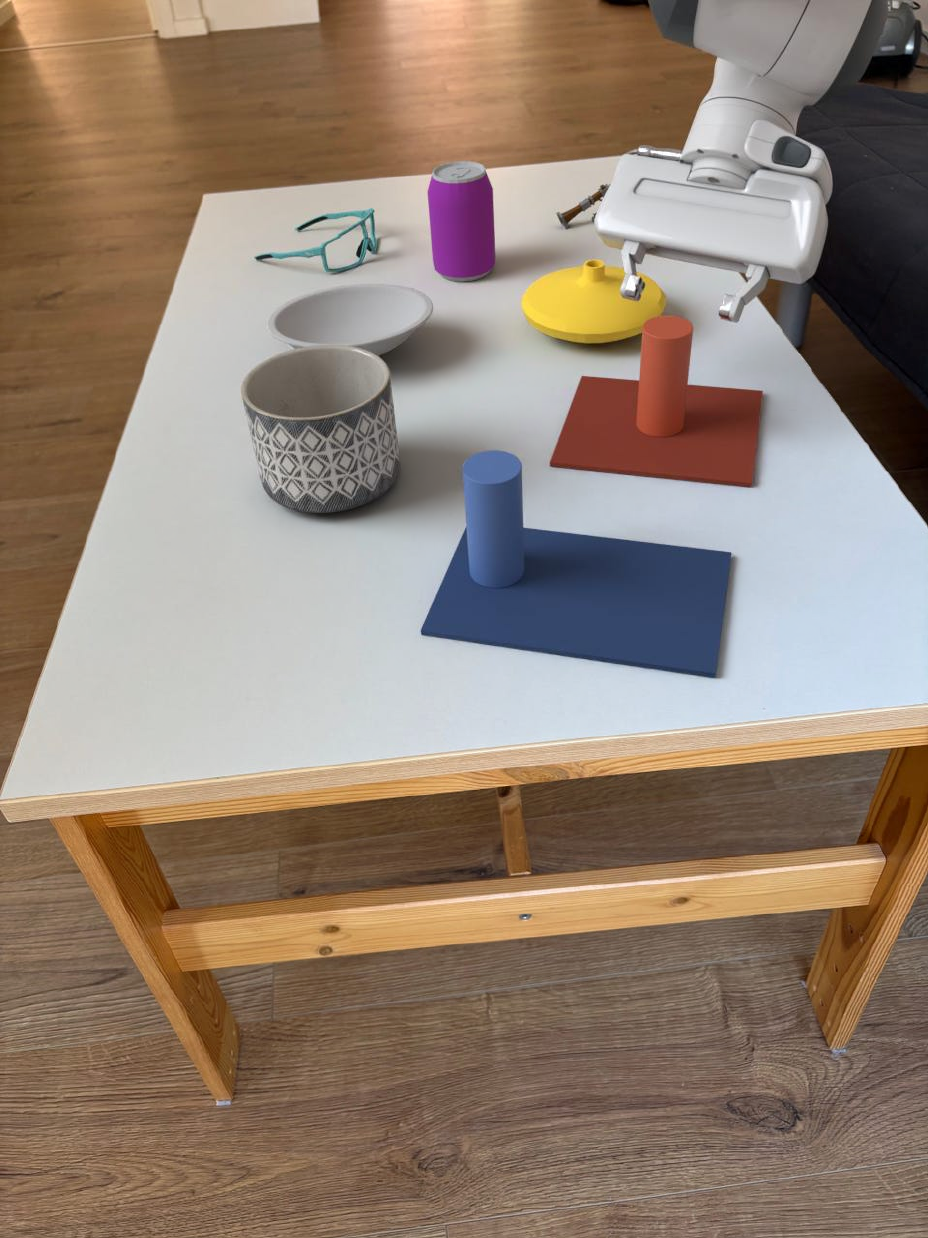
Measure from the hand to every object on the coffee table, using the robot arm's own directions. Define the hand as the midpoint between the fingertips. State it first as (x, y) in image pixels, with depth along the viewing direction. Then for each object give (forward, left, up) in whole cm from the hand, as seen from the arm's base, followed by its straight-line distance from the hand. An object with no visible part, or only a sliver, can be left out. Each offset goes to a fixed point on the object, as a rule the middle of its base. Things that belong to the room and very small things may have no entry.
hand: (677, 308), depth 90 cm
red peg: (+1, +2, -11) cm, 11 cm away
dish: (+35, -7, -12) cm, 37 cm away
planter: (+29, +16, -12) cm, 35 cm away
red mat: (+1, +2, -11) cm, 12 cm away
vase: (+11, -18, -12) cm, 24 cm away
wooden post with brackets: (+17, -47, -12) cm, 51 cm away
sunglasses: (+49, -33, -12) cm, 60 cm away
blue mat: (+4, +27, -11) cm, 29 cm away
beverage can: (+29, -30, -12) cm, 43 cm away
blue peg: (+11, +26, -11) cm, 30 cm away
